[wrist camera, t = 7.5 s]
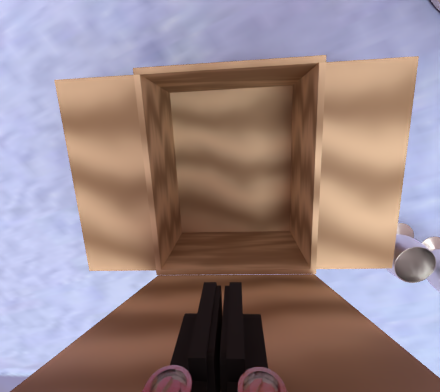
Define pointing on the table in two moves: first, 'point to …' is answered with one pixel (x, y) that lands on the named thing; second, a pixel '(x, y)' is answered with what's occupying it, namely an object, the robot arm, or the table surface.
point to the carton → (240, 164)
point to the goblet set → (416, 258)
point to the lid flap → (272, 329)
